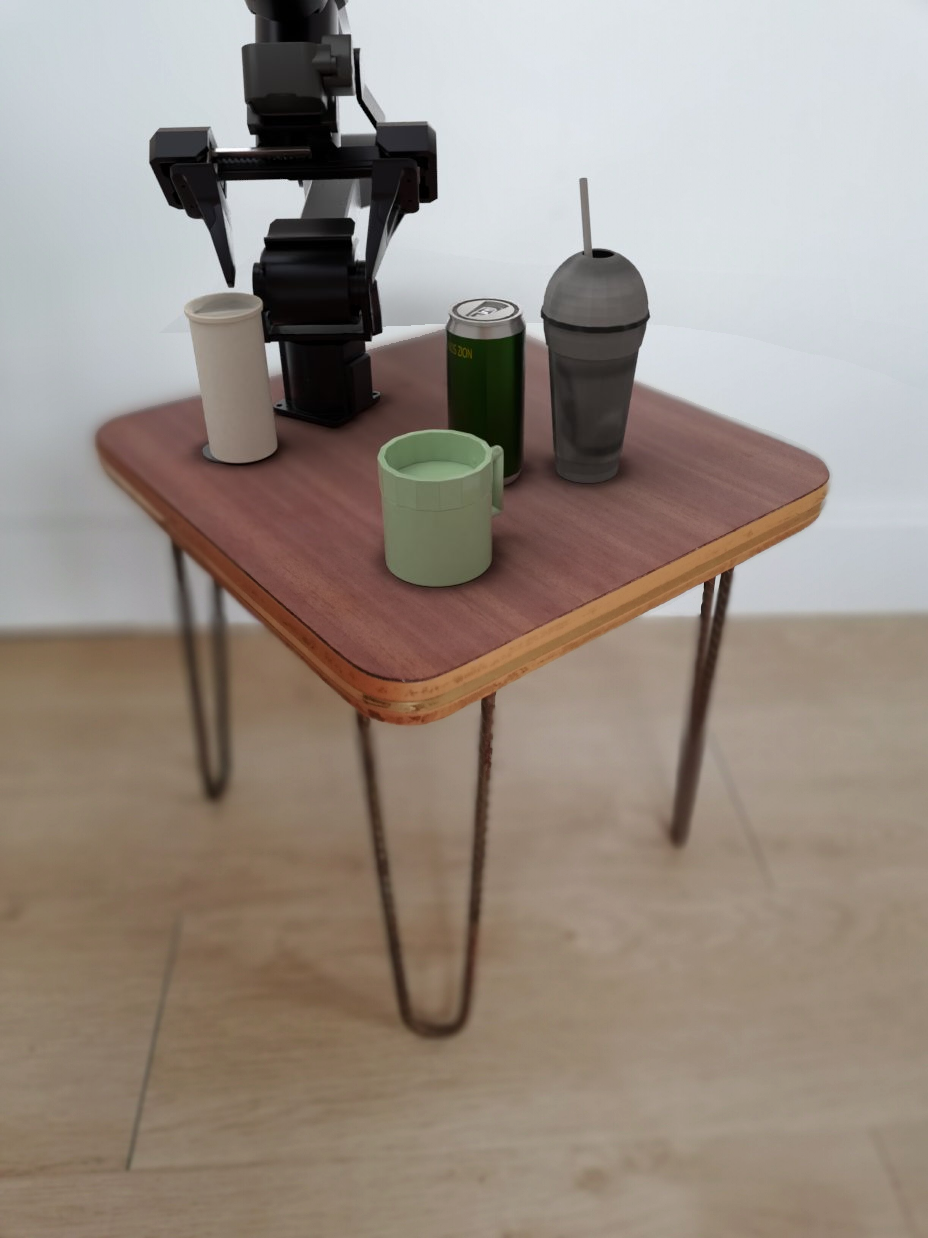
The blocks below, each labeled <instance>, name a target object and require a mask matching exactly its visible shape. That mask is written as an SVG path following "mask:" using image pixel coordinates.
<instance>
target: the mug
mask: <svg viewBox="0 0 928 1238" xmlns="http://www.w3.org/2000/svg"><path fill="white" fill-rule="evenodd" d="M503 464H504V452H503V449H502V447H500V446H498V445H494V446H492V447H489V445H488V444H487V442H486V441H484V440H482V439H480V438H478V437H476V436H474V435H472V434H468V433H464V432H459V431H455V430H448V429H424V430H418V431H410V432H408V433H405V434H402V435H399V436H396V437H393V438H392V439H390V440H389V441H388V442H386V443H385V444H383V445H382V446H381V447H380V449H379V451H378V454H377V473H378V487H379V489H380V501H381V502H380V503H381V516H382V530H383V545H384V559H385V560H384V561H385V566H386V567H387V569H388V571H390V573H391V574H393V575H394V576H395V577H396V578H398V579H399V580H402V581H404V582H406V583H409V584H412V585H416V586H423V587H433V588H435V587H437V588H438V587H441V588H442V587H451V586H456V585H460V584H464V583H468V582H469V581H470V582H471V581H472V580H474V579H476V578H478V577H480V576H481V575H483V574H484V573H485V572H486V571H487V570H488V569H489V567H490V565H491V564H492V560H493V518H496V517H498V516H500V515H501V514H503V511H504V486H503Z"/></svg>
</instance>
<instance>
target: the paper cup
mask: <svg viewBox="0 0 928 1238" xmlns="http://www.w3.org/2000/svg"><path fill="white" fill-rule="evenodd" d="M262 310H263V302H262V300H261V299H260V298H259V297H257V296H255V295H253V294H251V293H246V292H238V291H237V292H235V291H233V292H231V291H229V292H216V293H209V294H205V295H202V296H199V297H196V298H194V299H191V300H189V301H188V302H186V304H185V305H184V307H183V311H184V312H183V313H184V316H185V317H186V318H187V319H188V324H189V329H190V336H191V342H192V348H193V355H194V360H195V361H194V362H195V366H196V372H197V379H198V385H199V390H200V396H201V403H202V408H203V409H202V410H203V415H204V421H205V427H206V432H207V439H208V444H209V446H210V452H211V454H212V456H213V457H215V458H216V459H218V460H221V461H224V462H229V464H247V463H253V462H257V461H260V460H263V459H265V458H267V457H269V456H271V455H273V454H274V453H275V452H276V451H277V449H278V438H277V430H276V421H275V412H274V410H273V405H274V404H273V397H272V389H271V382H270V373H269V366H268V365H269V364H268V359H267V350H266V343H265V341H264V333H263V325H262V317H261V311H262Z"/></svg>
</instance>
